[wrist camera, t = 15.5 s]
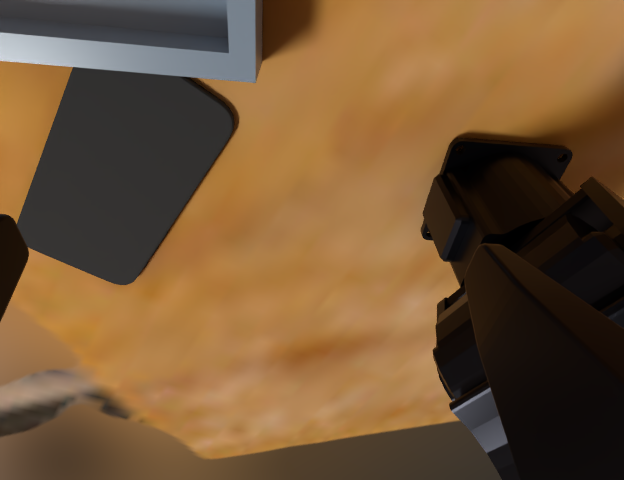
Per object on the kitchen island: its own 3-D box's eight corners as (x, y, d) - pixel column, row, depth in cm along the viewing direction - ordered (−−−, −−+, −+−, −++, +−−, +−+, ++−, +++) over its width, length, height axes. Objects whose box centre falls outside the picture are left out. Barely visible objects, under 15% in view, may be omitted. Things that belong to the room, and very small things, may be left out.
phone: (243, 119, 19) (129, 291, 26) (245, 112, 20) (133, 282, 27) (89, 14, 16) (9, 240, 23) (98, 11, 17) (17, 232, 24)
